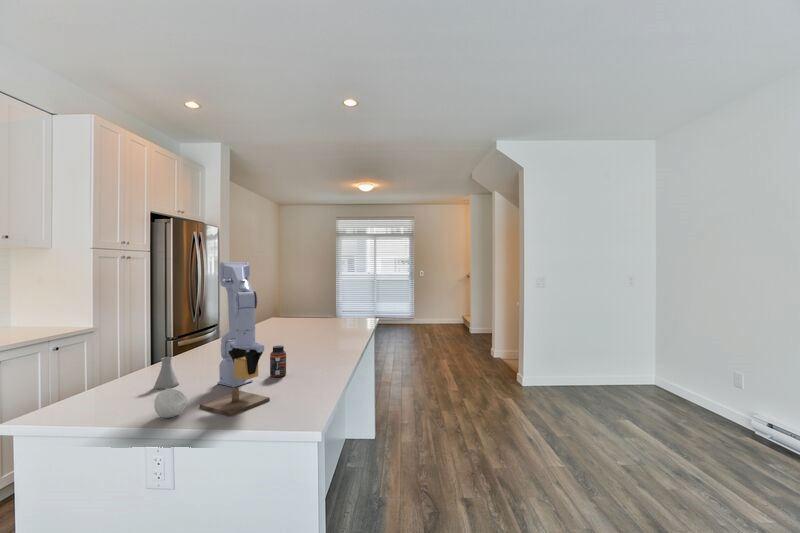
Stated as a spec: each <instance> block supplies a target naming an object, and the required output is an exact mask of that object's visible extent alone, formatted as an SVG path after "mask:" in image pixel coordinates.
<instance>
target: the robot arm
mask: <svg viewBox="0 0 800 533" xmlns="http://www.w3.org/2000/svg"><path fill="white" fill-rule="evenodd" d="M250 270H251V268H250V263H249V262H248V261H245V262H244V261H238V262H237V261H234V262H233V261H232V262H231V261H225V262H224V261H221V262H220V263H219V271H218V272H219V283H220V286H222V287H224V289H225V291H226V294H227V309H228V310H227V314H228V316H227V317H228V332H226V333H225V334H224V335H223V336H222V337H221V339H220V342H221V343H220V357H221V358H222V359H221V361H220V363H219V370H218V371H219V381H218V382H217V383H216V384H218V385H221V386H222V385H223V386H227V387H232V388H237V387H239V386H242V385H246V384H248V383H251V382H253V381H254V380H253V379H248V380H241V379H236V378H234V359H236V358H240V357H244V356H245V358H246V361H247V368H248V374H249V375H251V374H254V373H255V372H256V368H257V364H258V365H259V361H260V358H261V357H262V355H263V353H264V352H265V344H260V343H258V342H257V341H256V309H257V308H258V295H257V292H256V290H253V289H252V286H251V283H250V281H249V277H250V275H251V274H250V273H251V271H250Z"/></svg>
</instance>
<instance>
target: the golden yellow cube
mask: <svg viewBox="0 0 800 533" xmlns="http://www.w3.org/2000/svg"><path fill="white" fill-rule="evenodd" d="M257 377H259V363H258V364H257V368H256V372H255V373H254V374H251V375H249V374H248V368H247V361H246V358H245V356H244V357H240V358H236V359H234V378H236V379H241V380H248V379H250V380H252V379H253V378H257Z"/></svg>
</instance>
